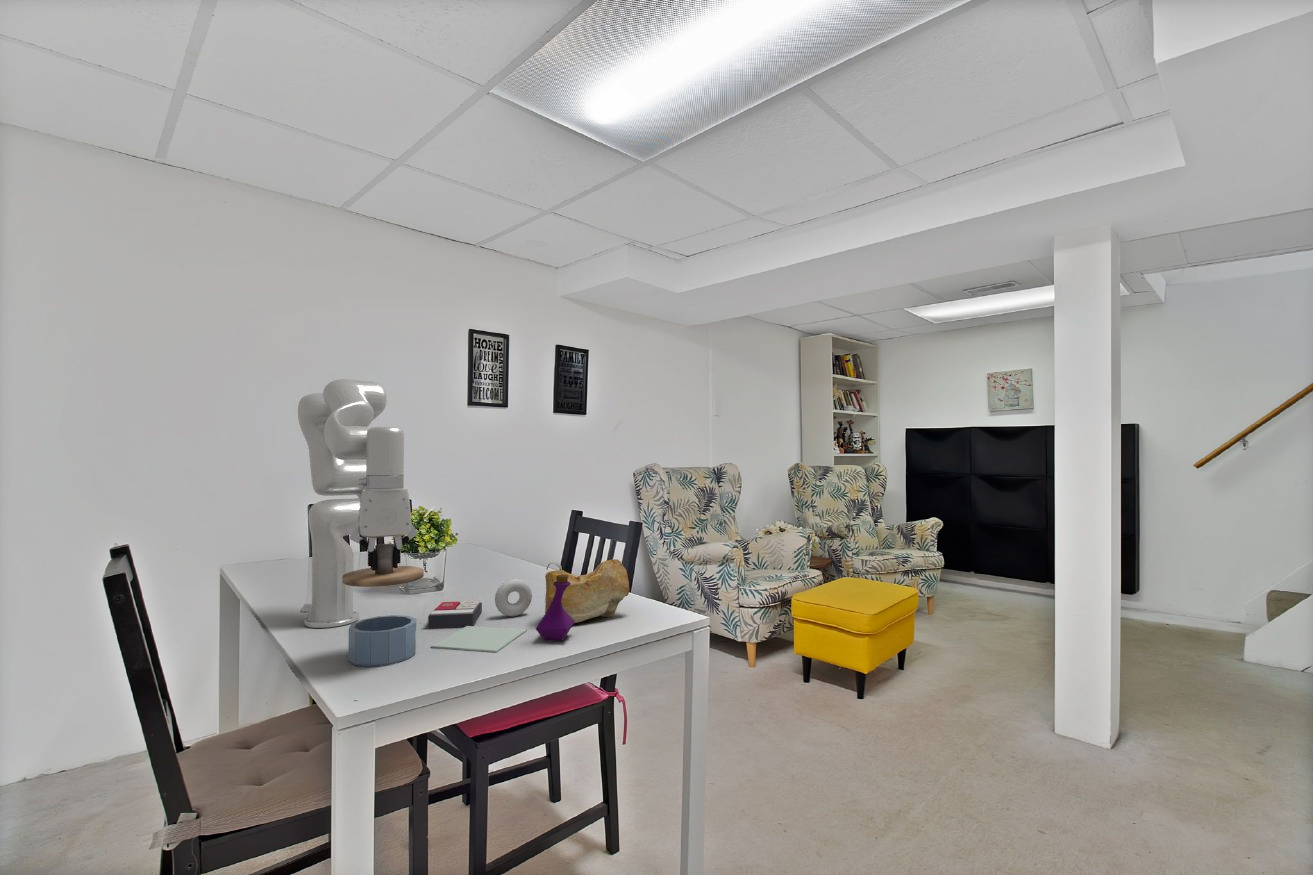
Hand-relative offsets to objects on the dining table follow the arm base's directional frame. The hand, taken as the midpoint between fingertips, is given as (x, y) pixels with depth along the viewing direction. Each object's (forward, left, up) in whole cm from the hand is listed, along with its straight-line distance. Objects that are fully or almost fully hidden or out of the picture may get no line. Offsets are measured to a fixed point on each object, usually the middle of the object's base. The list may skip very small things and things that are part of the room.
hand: (384, 567), depth 131 cm
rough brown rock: (+32, +39, -19) cm, 54 cm away
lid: (0, 0, -2) cm, 2 cm away
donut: (+14, +35, -19) cm, 42 cm away
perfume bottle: (+32, +19, -19) cm, 42 cm away
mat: (+15, +15, -19) cm, 29 cm away
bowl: (0, 0, -19) cm, 19 cm away
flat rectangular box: (+1, +29, -20) cm, 35 cm away
